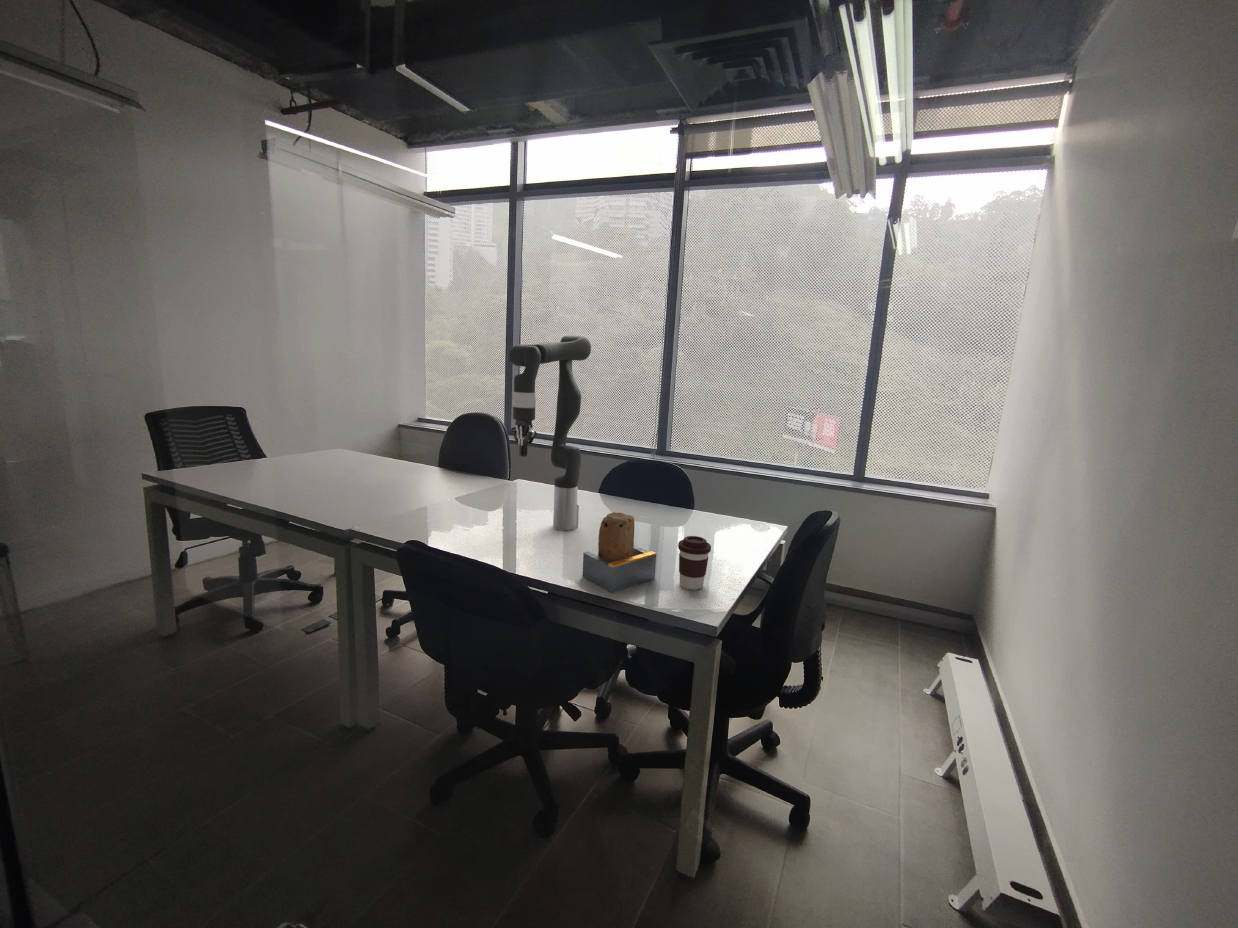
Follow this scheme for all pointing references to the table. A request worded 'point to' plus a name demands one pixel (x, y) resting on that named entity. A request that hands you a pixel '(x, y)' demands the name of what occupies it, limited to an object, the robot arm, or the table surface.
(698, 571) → the coffee cup
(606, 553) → the block
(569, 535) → the table surface
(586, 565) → the dock
